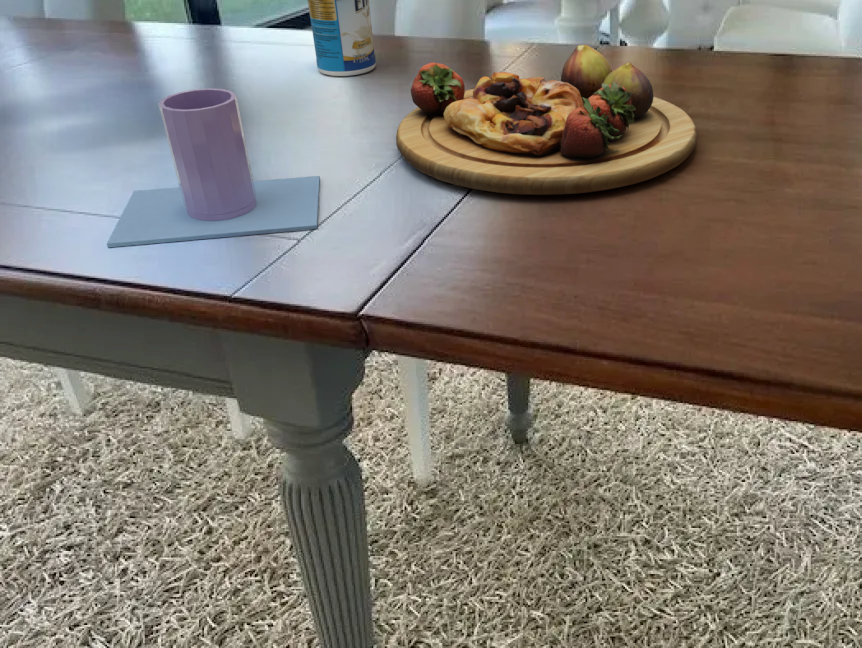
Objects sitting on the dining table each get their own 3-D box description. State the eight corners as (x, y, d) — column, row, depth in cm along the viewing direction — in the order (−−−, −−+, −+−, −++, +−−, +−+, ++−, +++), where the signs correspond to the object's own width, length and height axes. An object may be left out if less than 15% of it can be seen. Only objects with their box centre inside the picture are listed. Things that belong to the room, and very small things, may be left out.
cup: (181, 223, 77) (152, 113, 71) (192, 196, 82) (166, 91, 76) (253, 217, 77) (231, 107, 72) (259, 190, 83) (239, 86, 77)
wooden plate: (334, 159, 90) (323, 79, 86) (513, 85, 111) (512, 18, 106) (591, 231, 74) (594, 137, 69) (744, 128, 95) (755, 51, 90)
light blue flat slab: (107, 247, 74) (106, 243, 74) (134, 194, 84) (133, 190, 84) (317, 229, 76) (316, 224, 76) (320, 179, 86) (319, 175, 86)
